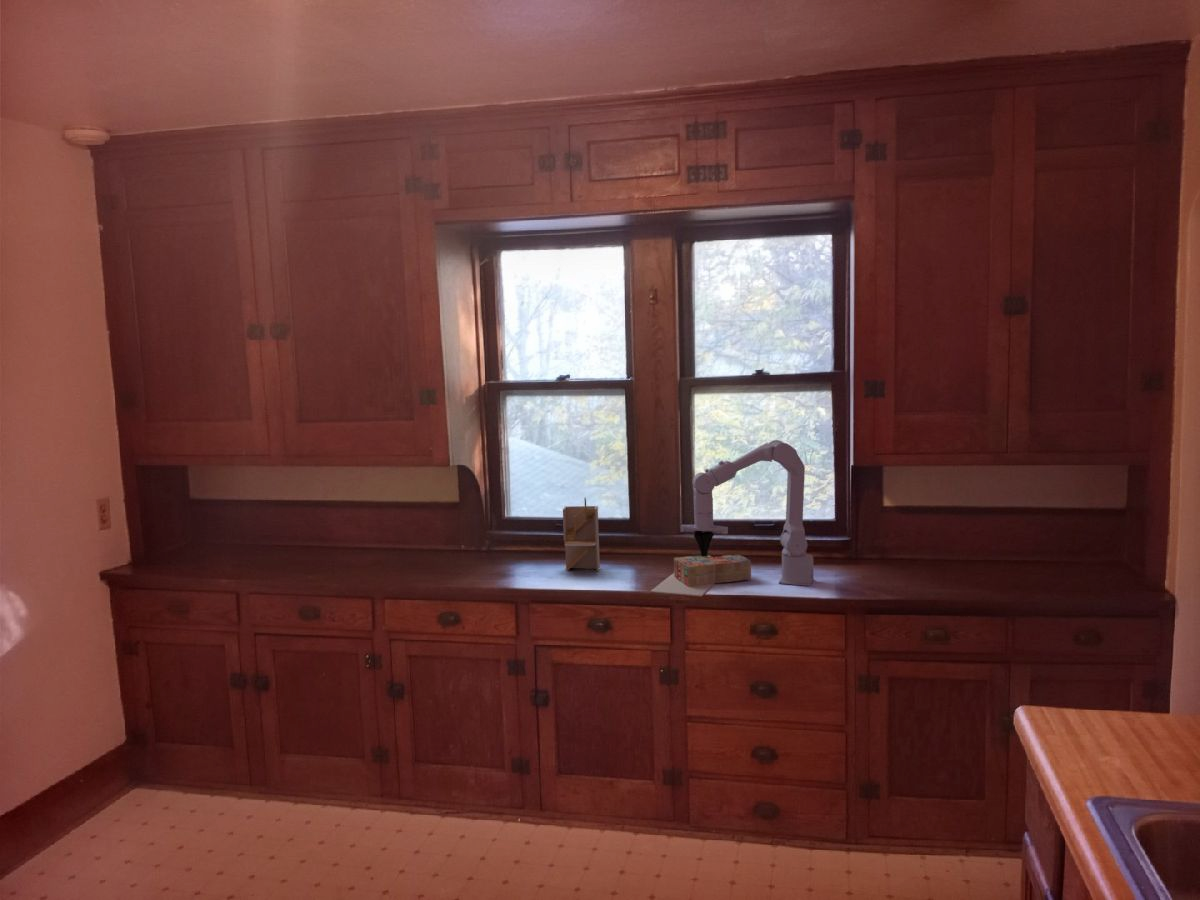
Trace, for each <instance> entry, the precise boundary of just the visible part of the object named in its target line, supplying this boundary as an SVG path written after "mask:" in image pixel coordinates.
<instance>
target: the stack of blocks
mask: <svg viewBox="0 0 1200 900" xmlns="http://www.w3.org/2000/svg"><path fill="white" fill-rule="evenodd" d="M751 562H752V561H751V559H749V558H747V557H745V556H743V555H740V554H732V555H731V554H726V555H720V556H718V555H717V556H712V555H710V554H708V555H707V556H701V555H692V556H683V557H682V556H680V557H674V558H673V573H674V577H675V578H677V579H678V580H679V581H681V582H682V583H684V584H685V585H687V586H696V585H705V584H712V583H716V584H719V583H720V584H721V583H729V582H730V583H731V582H741V581H745V580H746V581H747V580H751V579H752V563H751Z"/></svg>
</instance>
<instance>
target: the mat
mask: <svg viewBox="0 0 1200 900" xmlns="http://www.w3.org/2000/svg"><path fill="white" fill-rule="evenodd" d="M714 584H715V583H712V584H705V585H696V586H687V585H685V584H684V583H682V582H681V581H679V580H678V579H677V578H675V577H674V572H673V573H672V574H671V575H668V577H667V578H664V580H663V581H661V582H660V583H659V584H657V585H656V586H655V587H654V588H652V589H651V590H650V593H653V594H654V593H655V594H665V595H666V594H667V595H679V596H688V597H698V598H699V597H701V598H702V597H704V595H705V594H706V593H707V592H709V590H710V589H711V588H712V587H713V586H715V585H716V584H715V585H714Z"/></svg>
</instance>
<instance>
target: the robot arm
mask: <svg viewBox="0 0 1200 900" xmlns="http://www.w3.org/2000/svg"><path fill="white" fill-rule="evenodd" d="M759 462H770V463H772V462H776V463H777V464H780V466H781V467H782V468H783V469H785V470H786V472H787V480H786V482H787V485H786V503H785V504H786V507H785V523H784V524H783V530H782V533H781V534H780V538H779V543H780V544H781V546H782V547H783V549H782V550H781V578H780V579H779V581H778V584H780V583H781V584H782V585H793V586H795V585H796V586H805V587H806V586H811V585H812V583H813V581H814V579H815V578H814V556H813V554H808V553H807V549H808V541H807V538H806V532H805V530H806V529H805V526H804V524H803V521H804V519H803V518H804V496H805V493H804V492H805V476H806V475H805V472H806V471H805V470H806V466H805V464H804V463H803V460H802V458H801V457H800V455H799V454H798V452H797V449H795V448H794V447H793V446H792V445H791V444H789V443H787V442H783V441H782V440H779V439H775V440H772V441H770V442H769V443H768V442H767V443H764V444H762V445H760V446H758V447H757V448H754V449H753V450H751V451H749V452H747V453H746V454H744V455H741V456H740V457H739V458H737V459H735V460H733V461H729V460H725V461H723V460H720V461H718V462H717V463H718V464H717V465H714V466H712V467H711V468H709V469H708V468H705V469H704V472H702V471H701V472H698V473H696V474H695V475H694V477H693V478H692V481H691V484H692V487H693V488H694V489H693V490H694V491H693V495H694V496H693V509H694V510H693V511H694V512H693V513H694V519H693V520H694V524H681V525H680V529H679V530H680V533H684V532H686V533H687V532H688V533H694V534H693V537H694V540H695V541H696V543H697V546H698V547H699V551H700V556H707V555H709V554H708V553H709V549H710V544H711V542H712V539H713V538H714V536H715V535H714V534H722V535H728V533H729V527H728V526H721V525H714V498H713V491H714V489H715V487H718V486H720V485H722V484H725V483H726V482H728V481H730V480H732V479H733V478H735V477H736V475H737V473H738V472H739V471H741V470H743V469H746V468H747V467H750V466H753V465H754V464H757V463H759Z"/></svg>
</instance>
